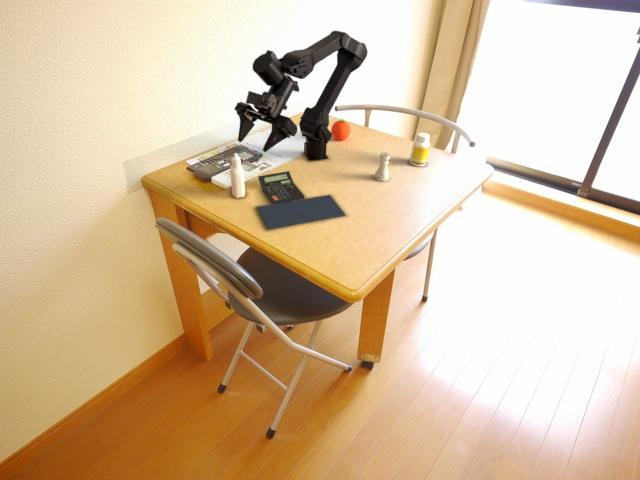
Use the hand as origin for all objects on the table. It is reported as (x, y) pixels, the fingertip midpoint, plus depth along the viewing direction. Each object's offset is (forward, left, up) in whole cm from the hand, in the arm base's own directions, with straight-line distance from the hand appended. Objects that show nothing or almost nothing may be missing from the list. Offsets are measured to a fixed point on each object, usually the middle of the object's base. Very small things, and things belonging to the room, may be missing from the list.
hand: (251, 146), depth 110 cm
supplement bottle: (-56, +1, -12) cm, 57 cm away
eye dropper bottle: (+5, +3, -12) cm, 14 cm away
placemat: (-9, +17, -12) cm, 23 cm away
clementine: (-39, -24, -12) cm, 47 cm away
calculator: (-7, +6, -12) cm, 15 cm away
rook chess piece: (-39, +7, -12) cm, 41 cm away
